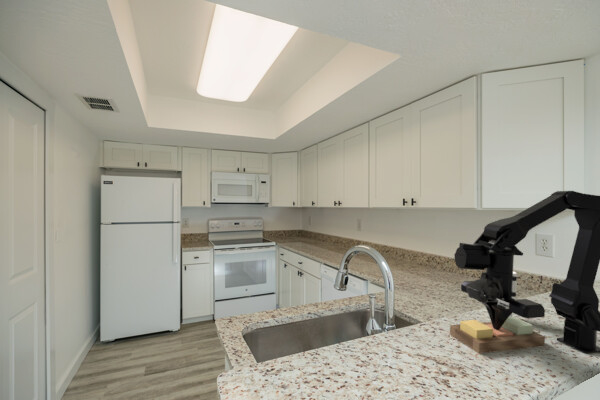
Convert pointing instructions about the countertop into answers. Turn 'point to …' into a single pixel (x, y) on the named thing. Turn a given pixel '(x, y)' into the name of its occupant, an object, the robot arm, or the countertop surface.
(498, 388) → the countertop surface
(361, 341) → the countertop surface
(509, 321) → the sage key
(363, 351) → the countertop surface
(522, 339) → the brown wooden slotted tray
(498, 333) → the terracotta key
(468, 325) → the ochre key
